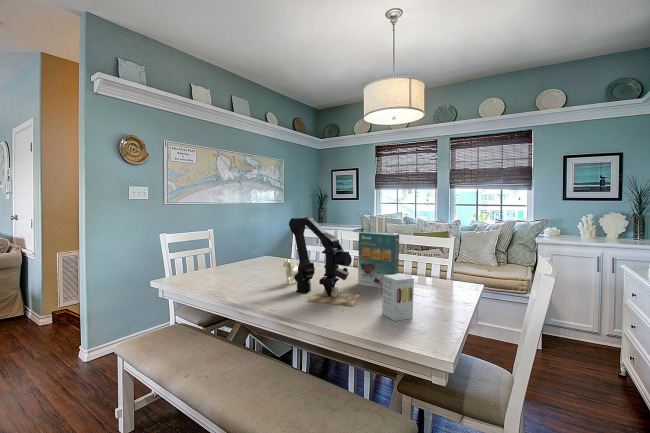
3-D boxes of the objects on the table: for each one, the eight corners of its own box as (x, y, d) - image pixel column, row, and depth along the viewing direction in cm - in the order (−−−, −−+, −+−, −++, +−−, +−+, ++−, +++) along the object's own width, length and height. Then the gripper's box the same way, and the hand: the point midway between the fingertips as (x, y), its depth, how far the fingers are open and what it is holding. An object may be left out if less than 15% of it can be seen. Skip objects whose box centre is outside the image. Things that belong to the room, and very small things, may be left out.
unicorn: (298, 279, 187) (298, 251, 186) (303, 280, 185) (304, 252, 185) (280, 288, 169) (280, 257, 168) (286, 289, 167) (286, 257, 166)
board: (308, 301, 148) (308, 298, 148) (317, 292, 161) (317, 290, 161) (353, 306, 141) (353, 303, 141) (359, 297, 155) (359, 294, 155)
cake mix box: (398, 287, 172) (399, 234, 171) (394, 290, 167) (395, 235, 166) (362, 281, 184) (363, 231, 183) (358, 284, 179) (358, 232, 178)
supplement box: (394, 321, 123) (395, 280, 123) (381, 313, 132) (382, 275, 131) (413, 318, 127) (414, 278, 126) (399, 310, 136) (400, 273, 135)
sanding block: (323, 296, 151) (323, 288, 150) (326, 294, 154) (326, 286, 154) (335, 297, 149) (335, 289, 149) (337, 295, 153) (337, 287, 153)
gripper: (342, 268, 140) (341, 302, 140) (351, 261, 157) (350, 291, 158) (319, 266, 143) (318, 299, 144) (330, 259, 161) (329, 288, 162)
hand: (330, 294), depth 152 cm, fingers closed on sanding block, 4 cm apart
